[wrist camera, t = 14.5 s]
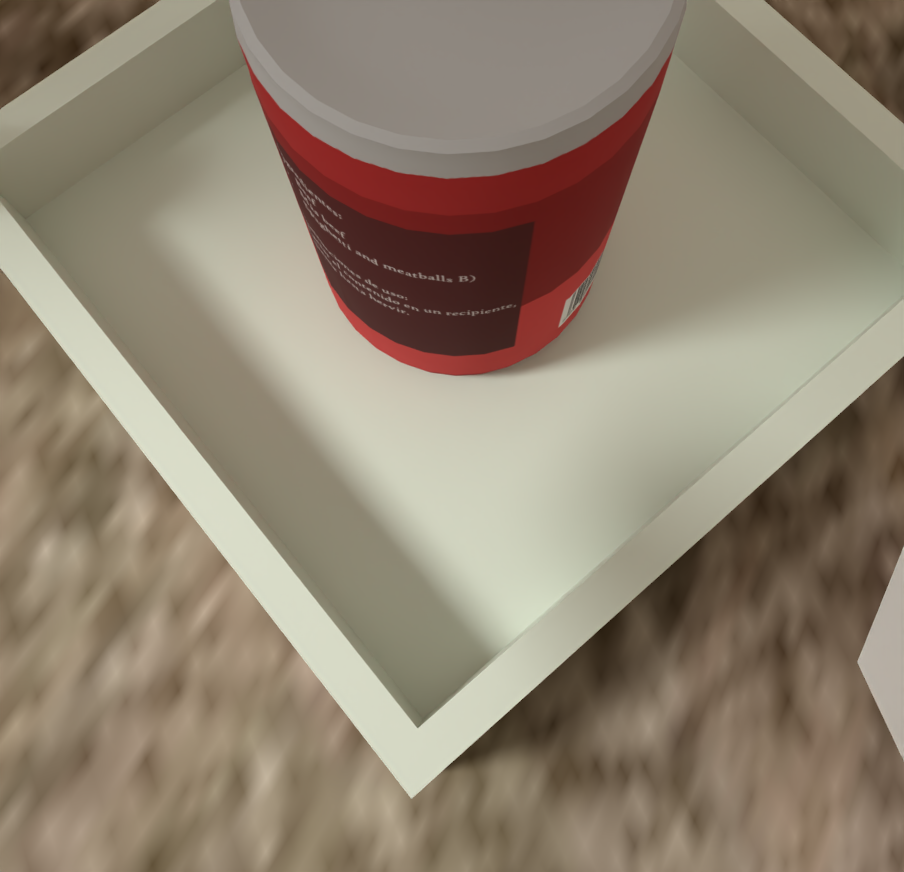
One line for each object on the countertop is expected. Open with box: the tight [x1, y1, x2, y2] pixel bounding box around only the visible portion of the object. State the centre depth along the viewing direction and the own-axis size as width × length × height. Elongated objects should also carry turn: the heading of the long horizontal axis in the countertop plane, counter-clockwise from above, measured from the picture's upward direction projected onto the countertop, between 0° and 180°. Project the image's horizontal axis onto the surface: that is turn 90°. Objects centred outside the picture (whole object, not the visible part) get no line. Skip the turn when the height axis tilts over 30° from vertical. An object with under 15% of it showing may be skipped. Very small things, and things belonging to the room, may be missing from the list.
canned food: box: [229, 0, 687, 376], centre depth 19 cm, size 8×8×11 cm
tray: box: [0, 0, 904, 799], centre depth 23 cm, size 20×20×4 cm
